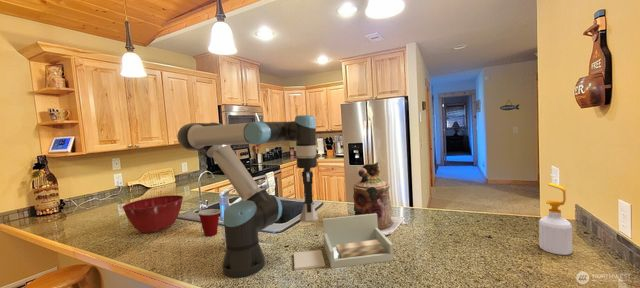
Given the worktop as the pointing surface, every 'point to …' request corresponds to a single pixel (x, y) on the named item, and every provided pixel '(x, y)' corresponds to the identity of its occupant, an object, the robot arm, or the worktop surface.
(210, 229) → the plastic cup
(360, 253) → the light brown wooden block
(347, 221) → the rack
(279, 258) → the worktop surface
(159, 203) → the mixing bowl
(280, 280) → the worktop surface
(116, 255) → the worktop surface
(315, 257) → the mat
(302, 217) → the flask
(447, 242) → the worktop surface
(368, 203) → the cookie jar
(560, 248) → the soap bottle
